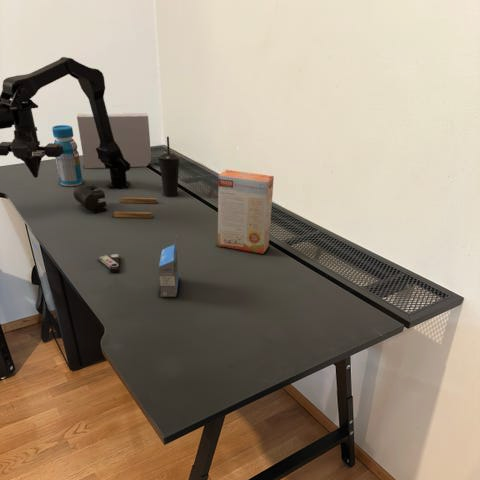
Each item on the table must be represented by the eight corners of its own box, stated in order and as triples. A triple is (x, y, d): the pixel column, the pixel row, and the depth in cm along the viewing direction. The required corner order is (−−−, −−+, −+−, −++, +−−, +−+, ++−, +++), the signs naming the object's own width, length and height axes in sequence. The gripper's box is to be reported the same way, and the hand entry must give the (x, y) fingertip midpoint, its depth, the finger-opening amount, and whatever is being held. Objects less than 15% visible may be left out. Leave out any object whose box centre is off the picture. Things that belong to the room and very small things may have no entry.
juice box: (163, 278, 115) (160, 233, 108) (178, 278, 116) (176, 233, 108) (160, 297, 108) (156, 250, 101) (176, 297, 108) (174, 250, 101)
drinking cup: (183, 191, 168) (181, 134, 157) (178, 198, 162) (176, 140, 151) (162, 190, 169) (159, 133, 157) (157, 197, 163) (153, 138, 151)
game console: (85, 164, 191) (77, 113, 179) (150, 162, 197) (147, 113, 185) (84, 168, 186) (76, 116, 175) (151, 166, 192) (148, 115, 181)
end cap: (75, 205, 153) (71, 185, 149) (95, 201, 157) (92, 182, 153) (86, 215, 147) (83, 195, 143) (107, 211, 150) (104, 191, 146)
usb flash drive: (119, 271, 117) (119, 268, 116) (98, 273, 116) (97, 269, 115) (119, 256, 124) (119, 253, 123) (99, 257, 123) (99, 254, 122)
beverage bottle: (65, 188, 166) (54, 130, 155) (56, 182, 171) (45, 125, 160) (87, 184, 171) (78, 128, 159) (78, 178, 176) (69, 123, 164)
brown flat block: (122, 201, 158) (121, 197, 157) (156, 202, 158) (156, 198, 158) (114, 217, 146) (113, 212, 145) (151, 218, 147) (151, 213, 146)
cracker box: (269, 246, 133) (275, 175, 121) (263, 255, 128) (268, 181, 116) (224, 238, 136) (225, 168, 124) (217, 246, 132) (217, 174, 120)
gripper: (-19, 130, 129) (-5, 184, 138) (47, 132, 130) (58, 186, 139) (-3, 122, 138) (9, 173, 147) (59, 124, 139) (68, 175, 148)
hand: (36, 177), depth 145 cm, fingers closed
